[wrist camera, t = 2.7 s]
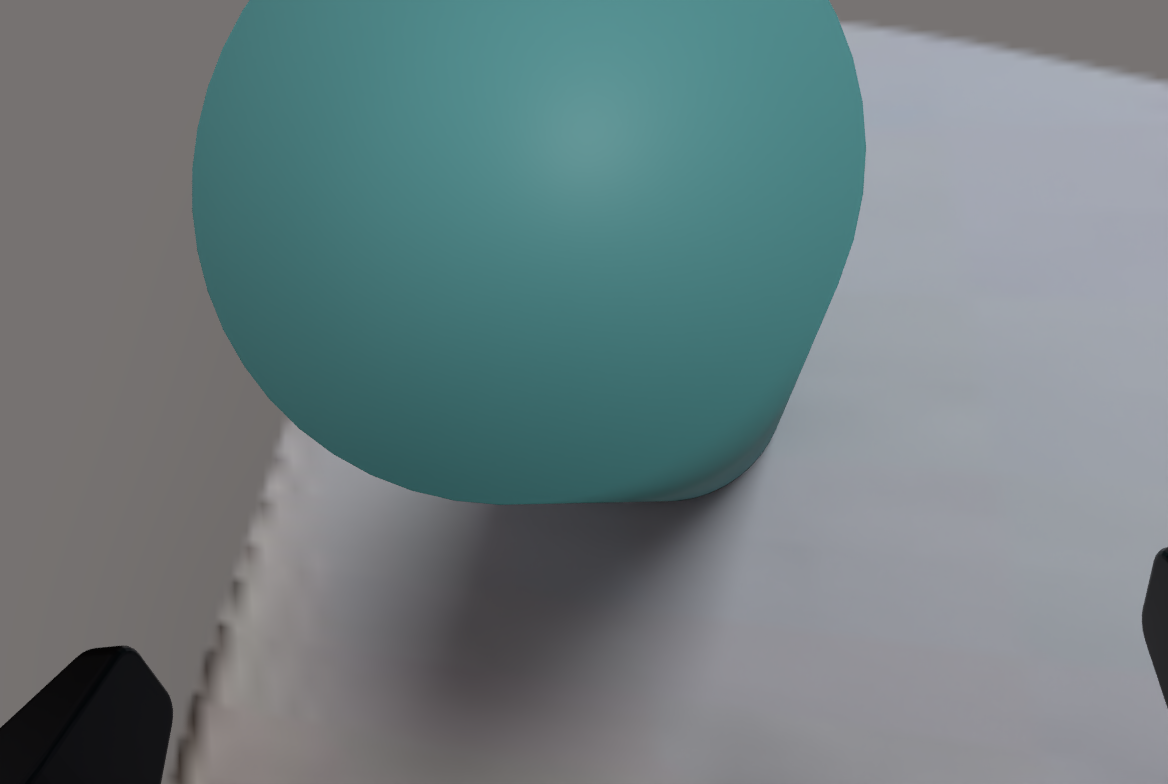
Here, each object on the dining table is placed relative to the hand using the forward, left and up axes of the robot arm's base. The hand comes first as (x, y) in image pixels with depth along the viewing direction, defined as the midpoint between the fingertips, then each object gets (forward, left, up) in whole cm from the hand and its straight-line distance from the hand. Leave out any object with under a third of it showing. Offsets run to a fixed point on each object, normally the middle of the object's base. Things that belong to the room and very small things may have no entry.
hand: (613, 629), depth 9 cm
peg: (+1, +3, -10) cm, 11 cm away
